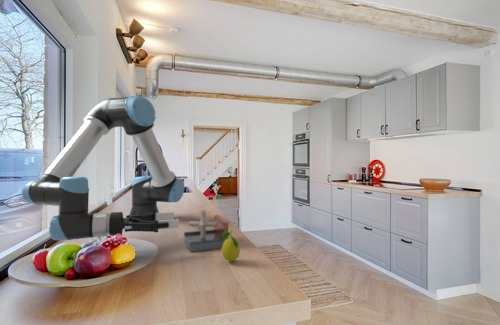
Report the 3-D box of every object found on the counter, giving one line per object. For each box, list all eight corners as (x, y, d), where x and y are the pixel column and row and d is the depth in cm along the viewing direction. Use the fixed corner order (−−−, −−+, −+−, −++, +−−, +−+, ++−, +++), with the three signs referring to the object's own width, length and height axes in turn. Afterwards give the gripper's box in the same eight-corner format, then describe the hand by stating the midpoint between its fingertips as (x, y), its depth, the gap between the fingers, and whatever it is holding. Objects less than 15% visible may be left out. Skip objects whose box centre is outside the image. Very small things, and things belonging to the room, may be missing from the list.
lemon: (220, 258, 84) (220, 227, 84) (238, 257, 84) (239, 226, 84) (220, 266, 77) (220, 232, 77) (240, 266, 77) (240, 232, 77)
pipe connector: (214, 241, 92) (214, 213, 92) (186, 241, 93) (186, 213, 93) (218, 233, 102) (218, 208, 102) (193, 233, 103) (193, 208, 103)
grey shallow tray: (184, 240, 102) (184, 217, 102) (217, 237, 107) (217, 215, 107) (190, 252, 89) (190, 225, 89) (228, 247, 94) (228, 222, 94)
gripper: (112, 226, 97) (172, 222, 105) (104, 247, 74) (181, 239, 82) (112, 206, 97) (172, 203, 105) (104, 220, 74) (181, 215, 82)
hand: (176, 219), depth 94 cm, fingers open, 13 cm apart
